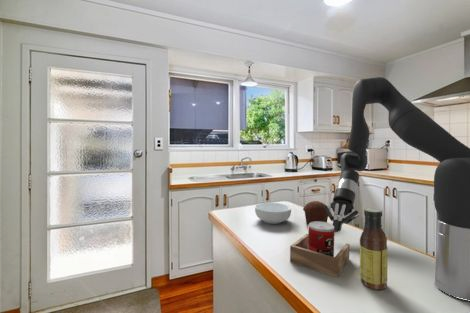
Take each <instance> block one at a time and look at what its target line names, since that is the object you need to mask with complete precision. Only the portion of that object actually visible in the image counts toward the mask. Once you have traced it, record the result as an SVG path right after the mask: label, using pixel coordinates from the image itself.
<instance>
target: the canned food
mask: <svg viewBox="0 0 470 313" xmlns="http://www.w3.org/2000/svg"><path fill="white" fill-rule="evenodd" d="M307 234H308V250H311V251H315V252H318V253H322V254H325V255H329V256H332V257H335V232H334V226H333V223H329V222H327V223H326V222H321V221H314V222H310V223H309V225H308V233H307Z"/></svg>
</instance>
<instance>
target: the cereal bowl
mask: <svg viewBox="0 0 470 313" xmlns="http://www.w3.org/2000/svg"><path fill="white" fill-rule="evenodd" d="M254 210H255V211H254V212H255V216H256V217H257V218H258V219H260V220H261V221H264V223H266V224H268V225H278V224H281V223H283V222H286V221H288V220H289V219H290V217H291V215H292V214H291V213H292V208H291V206H290V205H287V204H286V203H285V204H283V203H279V202H263V203H258V204H255V207H254Z"/></svg>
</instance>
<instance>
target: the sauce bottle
mask: <svg viewBox="0 0 470 313" xmlns="http://www.w3.org/2000/svg"><path fill="white" fill-rule="evenodd" d="M363 215H364V226H363V230H362V232H361V235H360V237H359V276H360V281H361V283H362V284H363V285H364V286H366V287H367V288H369V289H371V290H377V291H378V290H379V291H381V290H385V289H386V288H387V286H388V283H387V282H388V244H387V242H388V240H387V236H386V233H385V232H384V229H383V228H382V226H383V225H382V217H383V210H381V209H379V208H374V207H365V208H364V210H363Z"/></svg>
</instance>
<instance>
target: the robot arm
mask: <svg viewBox="0 0 470 313" xmlns="http://www.w3.org/2000/svg"><path fill="white" fill-rule="evenodd" d="M355 82H356V83H355V84H354V86H353V90H352V103H351V128H350V133H349V137H348V142H347V149H348V151H349V152H344V153H343V154H341V156H340V159H339V162H340V176H339V180H338V181H337V182H338V183H337V185H336V188H335V191H334V195H333V198H332V201H331V202H330V204H329V205H326V204H325V206H324V208H325V211H326V212H327V214H328V219H329V220H330V221H331V222H332V225H333V226H334V233H339V232H341V230H342V226H343V225H344V224H346V225H348V224H349V223H351V222H353V220H355V219H357V218H358V217H359V216H360V215H359V211H358V210H355V207H354V204H355V200H356V196H357V190H358V183H359V179H360V174H359V173H358V172H363V171H364V170H365V169H366V168H367V166H368V159H367V146H368V143H369V139H370V128H369V125H368V123H367V121H366V118H365V110H366V107H367V105H372V104H380V105H381V106H383V107H384V108H385V109H386V110H387V111H388V116H387V117H388V118H387V119H388V126H389V127H390V130H392V132H393V133H394V134H396V136H397V137H398V138H399V139H400V140H402V141H403V143H404V144H405V143H406V144H407V145H408V146H410V147H412V148H414V149H416V150H418V151H420V152H423V153H424V154H427V155H428V156H430V157H432V158H433V159H435V160H436V161H438V162H439V164H438V165H437V167H436V169H435V171H434V175H433V176H434V177H433V178H434V179H433V200H434V201H433V202H434V204H433V205H434V208H435V210H436V213H437V221H436V222H437V223H436V224H437V225H436V227H437V228H436V245H435V247H436V248H435V266H434V269H435V270H434V285H436V286H437V287H438V288H439V289H440V290H439V289H438V288H437V287H436V286H435V287H436V288H437V289H438V290H439V291H441V290H442V291H443V292H442V291H441V292H442V293H444V292H445V293H444V294H446V293H447V294H450V295H452V296H455V297H459V298H463V299H467V300H470V147H469V146H467V145H466V144H464V143H463V142H461V141H460V140H458V139H457V138H456V137H454V135H452V134H451V133H450V132H448V131H447V130H446V129H445V128H443V127H442V126H441V125H440V124H438V123H437V122H436V120H434V119H432V117H431V116H429V115H428V114H427V113H426V112H424V111H423V110H421V109H420V108H418V107H417V106H416V105H415V104H414V103H413V102H412V101H410V100H409V99H407V98H406V96H404V95H403V94H402V93H401V92H400V91H399V89H397V88H396V87H395V85H393V84H392V82H390V81H389V79H387V78H385V77H383V76H382V77H381V76H380V77H379V76H377V77H370V78H368V77H367V78H362V79H359V80H357V81H355ZM351 152H352V153H351ZM331 211H333V213H334V216H333V214H332V212H331ZM447 294H446V295H447ZM450 295H449V296H450ZM452 296H451V297H452Z"/></svg>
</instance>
